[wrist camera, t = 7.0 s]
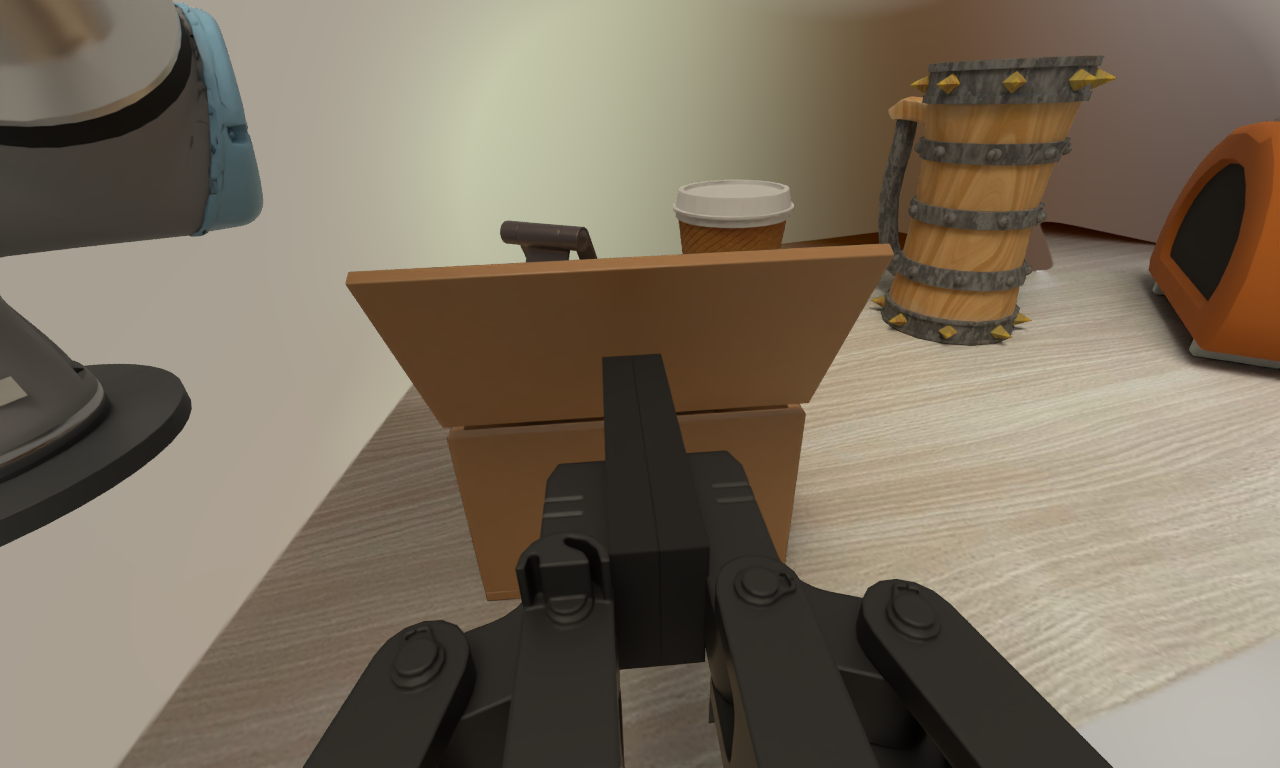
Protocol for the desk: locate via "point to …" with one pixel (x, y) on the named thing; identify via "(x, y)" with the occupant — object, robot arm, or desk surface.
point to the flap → (619, 328)
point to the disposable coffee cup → (732, 215)
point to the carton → (530, 451)
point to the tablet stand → (548, 241)
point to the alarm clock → (1227, 250)
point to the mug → (975, 190)
